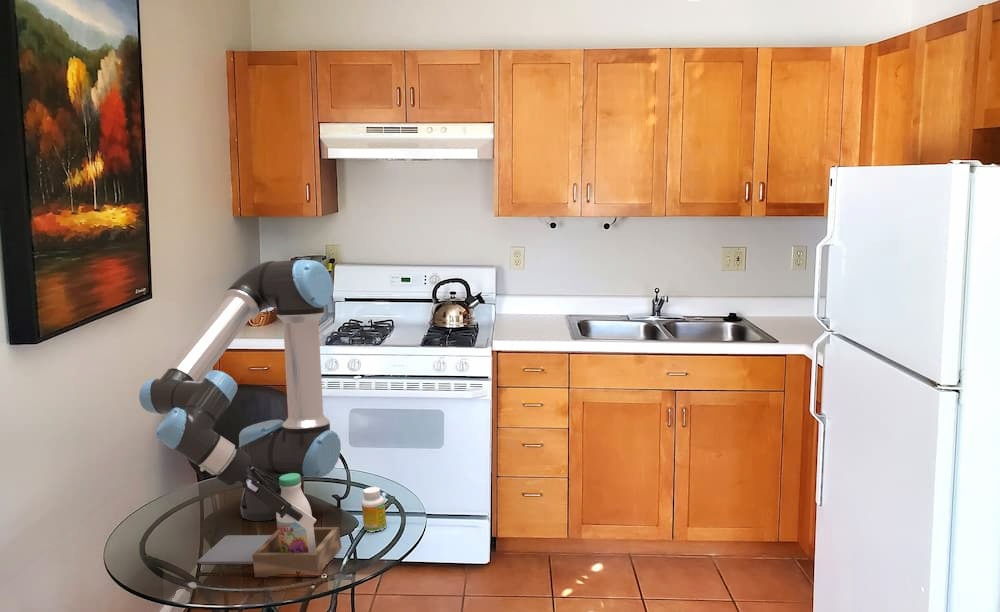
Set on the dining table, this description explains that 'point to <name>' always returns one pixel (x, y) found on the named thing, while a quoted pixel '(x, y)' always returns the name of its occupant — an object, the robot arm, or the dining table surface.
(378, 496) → the supplement bottle
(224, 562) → the rubber mat
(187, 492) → the dining table surface
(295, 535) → the milk bottle
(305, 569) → the walnut crate
